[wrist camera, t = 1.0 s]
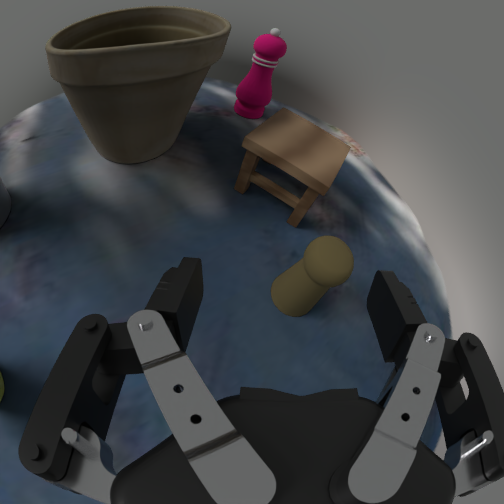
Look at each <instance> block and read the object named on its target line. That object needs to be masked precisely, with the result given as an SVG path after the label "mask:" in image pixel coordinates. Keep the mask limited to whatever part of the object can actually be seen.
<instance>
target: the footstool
mask: <svg viewBox="0 0 504 504" xmlns="http://www.w3.org/2000/svg"><path fill="white" fill-rule="evenodd" d="M242 147H244V148H245V149H247V151H246V154H245V157H244V160H243V163H242V166H241V169H240V172H239V175H238V178H237V181H236V184H235V187H234V189H235V190H237V191H238V192H240V193H242V194H244V192H245V191H246V190H247V189H248V188H249V185H250V182H253V183H254V184H256V185H258V186H259V187H261V188H263V189H264V190H266V191H267V192H269V193H271V194H272V195H274V196H275V197H277V198H279V199H280V200H282V201H283V202H285V203H286V204H288V205H290V206H291V207H293V208H294V211H293V212H292V214H291V215H290V217H289V219H288V220H287V223H289V224H290V225H292V226H294V227H295V228H296V227H297V225H298V224H299V222H300V221H301V219H302V218H303V217H304V215H305V214H306V212H307V211H308V209H309V208H310V206H311V205H312V204H313V202H314V201H315V199H316V198H317V196H318V195H319V194H321V195H322V196H324V195H325V194H326V192H327V191H328V190H329V188H330V186H331V184H332V183H333V181H334V179H335V177H336V175H337V173H338V171H339V169H340V167H341V166H342V164H343V162H344V160H345V158H346V156H347V154H348V152H349V150H350V148H351V147H350V146H348V145H347V144H345V143H343V142H342V141H340V140H339V139H337V138H336V137H334V136H333V135H331V134H329V133H328V132H326V131H324V130H323V129H321V128H319V127H318V126H316V125H314V124H313V123H311V122H309V121H307V120H306V119H304V118H302V117H300V116H299V115H297V114H295V113H293V112H291V111H289V110H288V109H286V108H282V109H281V110H280V111H278V112H277V113H275V114H274V115H273V116H271V117H270V118H269V119H267V120H266V121H265V122H263V123H262V124H261V125H259V126H258V127H257V128H255V129H254V130H253V131H251V132H250V133H249V134H248V135H246V136H245V137H244V140H243V143H242ZM260 157H261V158H263V159H262V160H263V161H265V162H267V163H269V164H273V165H275V166H276V167H278V168H280V169H281V170H283V171H285V172H286V173H288V174H290V175H291V176H293V177H294V178H296V179H298V180H299V181H301V182H302V183H304V184H305V185H307V186H309V187H308V188H307V190H306V192H305V193H304V195H303V196H302V198H301V199H299V198H298V197H296V196H295V195H293V194H292V193H290V192H288V191H287V190H285V189H284V188H282V187H280V186H279V185H277V184H276V183H274V182H272V181H271V180H269V179H267V178H266V177H264V176H262V175H261V174H259V173H257V172H256V171H255V169H256V167H257V164H258V162H259V159H260Z"/></svg>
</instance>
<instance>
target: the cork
mask: <svg viewBox="0 0 504 504" xmlns="http://www.w3.org/2000/svg"><path fill="white" fill-rule="evenodd" d="M353 265H354V259H353V255H352V252H351V250H350V248H349V247H348V246H347V245H346V244H345V242H343V241H342V240H340V239H339V238H337V237H334V236H321V237H318V238H316V239H315V240H313V241H312V242H311V243H310V244H309V245H308V247H307V248H306V250H305V252H304V257H303V258H302V259H301V260H300V261H298V262H297V263H296V264H294V265H293V266H292V267H290V268H289V269H287V270H286V271H285V272H283V273H282V274H281V275H279V276H278V277H277V278H276V279H275V280H274V282H273V283H272V287H271V297H272V300H273V302H274V304H275V306H276V307H277V308H278V309H279V310H280V311H281V312H283V313H284V314H286V315H289V316H292V317H299V316H302V315H305V314H306V313H308V312H309V311H310V310H311V309H312V308H313V307H314V305H315V304H316V303H317V302H318V301H319V300H320V299H321V297H322V296H323V295H324V294H325V293H326V292H327V291H328V289H329V288H330V287H335V286H338V285H340V284H342V283H344V282H345V281H346V280H347V279H348V278H349V277H350V275H351V273H352V270H353Z"/></svg>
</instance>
